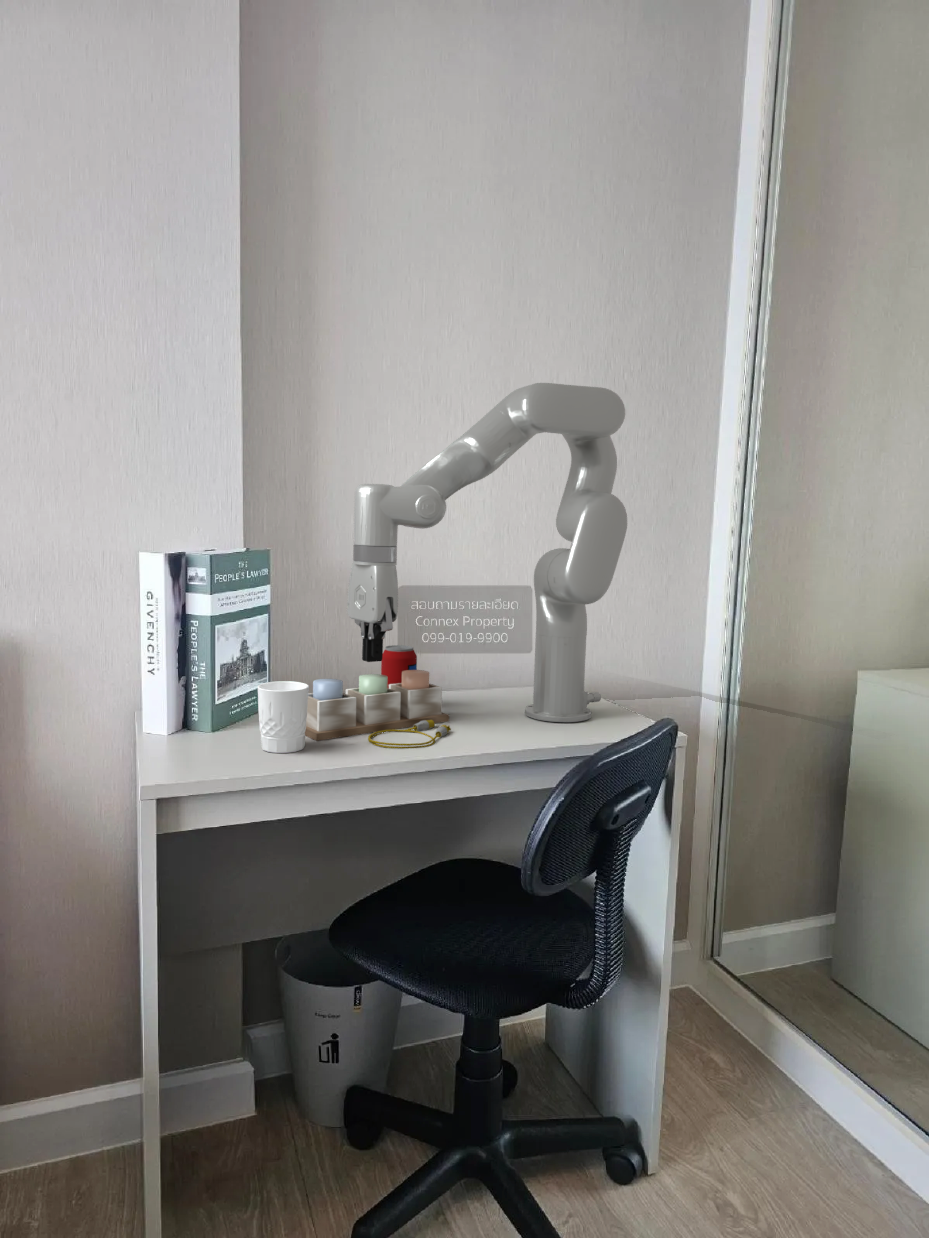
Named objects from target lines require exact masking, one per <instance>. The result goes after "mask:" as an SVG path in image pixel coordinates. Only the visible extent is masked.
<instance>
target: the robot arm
mask: <svg viewBox="0 0 929 1238" xmlns="http://www.w3.org/2000/svg"><path fill="white" fill-rule="evenodd" d="M625 418H626V407H625V403H624V401H623V400H622V398H621V397H620V395H619V394H617V393H616V392H615V391H614V390H611V389H609V388H606V387H599V386H586V385H585V386H584V385H574V384H564V383H562V384H561V383H554V382H553V383H552V382H551V383H550V382H537V383H532V384H529V385H525V386H522V387H518V388H517V389H514V390H513V391H512V392H510V393H509V394H507V396H505V397H504V398H503V399H502V400H501V401H499V402H498V403H497V404H496V405H495V406H493V407H492V409H490V410H489V411H488V412H487V413H486V414H485V415H484V416H483V417H482V418H480V419H479V420H478V421H477V422H476V423H475V424H473V425H472V426H471V427H470V428H469V429H468V430H467V431H465V433H463V434H462V435H460V437H458V438H456V440H454V441H453V442H451V443H450V444H449V445H448V446H447V447H446V448H444V449H443V450H442V451H441V452H439V453H438V454H437V455H436V456H434V457H433V458H431V459H430V460H429V461H428V462H427V463H425V464H424V465H423V466H422V467H421V468H419V469H418V470H417V471H416V472H414V473H413V474H412V476H410V477H409V478H408V479H407V480H406V481H405V482H404V483H402V484H401V485H400V486H394V485H392V484H383V483H381V484H380V483H363V484H358V485H357V487H356V488H355V491H354V507H353V508H354V510H353V517H354V518H353V544H352V545H353V551H352V552H353V553H352V554H353V555H352V556H353V558H352V564H351V567H350V572H349V579H348V589H347V590H348V591H347V603H346V606H347V607H346V615H347V616H348V617H349V618H350V619H351V620H354V623H355V625H357V626H358V627H359V628H360V636H361V638H362V645H361V647H362V649H361V650H362V651H361V654H362V655H361V656H362V657H361V659H362V661H364V662H367V663H374V662H381V661H382V659H383V652H384V650H383V649H384V639H385V638H386V633H387V632H388V631H389V632H390V631H392V630H393V629H394V627H393V626H394V625H393V623H394V622H396V620H397V619H398V614H399V582H398V571H397V565H398V562H397V560H398V559H397V558H398V531H399V528H398V527H399V526H402V527H407V528H412V529H413V528H414V529H421V530H422V529H430V528H433V527H434V526H437V525H438V524H439V523H440V522H441V521H442V520H443V519H444V517H445V515H446V511H447V503H446V502H447V501H446V500H448V499H449V498H450V497H452V495H454V494H455V493H457V492H458V491H460V490H461V489H463V488H465V487H467V486H469V485H471V484H474V483H476V482H479V481H481V480H483V479H486V477H488V476H490V475H491V474H493V473H495V472H496V471H497V469H499V468H500V467H501V466H502V465H503V464H505V462H506V461H508V460H509V459H510V458H511V456H513V455H514V454H515V453H516V452H517V451H519V450H520V449H521V448H522V447H524V445H526V444H527V443H528V442H529V441H530V440H531V439H532V438H533V437H535V436H536V435H538V434H542V433H550V434H558V435H559V434H560V435H562V437H563V438H564V440H565V441H566V443H567V445H568V449H569V451H570V459H571V461H570V462H571V463H570V468H569V472H568V476H567V481H566V484H565V486H564V490H563V493H562V497H561V500H560V503H559V506H558V510H557V513H556V518H555V527H556V530H557V532H558V533H559V536H560V537H562V538H563V539H564V540H566V541H568V542H571V544H570V546H569V547H570V548H567V547H566V548H564V547H562V548H560V547H559V548H554V549H550V550H549V551H547V552H545V553H544V554H543V555H542V556H541V557H540V558H539V560H538V561H537V562H536V566H535V568H534V572H533V587H534V597H535V611H536V612H535V614H536V615H535V616H536V617H535V618H536V620H535V625H536V626H535V643H534V644H535V647H534V669H533V670H534V671H533V673H534V674H533V695H532V703H531V704H528V705H526V706H525V707H524V715H526V717H528V718H531V719H533V720H534V719H535V720H538V721H544V722H550V723H577V722H578V723H579V722H584V721H587V720H589V719H591V717H592V710H591V709H590V708H589V707H588V705H589V704H590V703H598V702H600V701H601V700H602V697H601V693H600V692H599V691H593V692H589V693H588V691H586V690H585V677H586V676H585V675H586V674H585V673H586V655H587V652H586V651H587V635H588V634H587V633H588V616H587V607H586V605H591V604H594V603H596V602H598V601H599V600H601V599H602V598H603V597H605V594H606V593H607V592H608V590H609V588H610V586H611V585H612V584H611V583H612V581H613V578H614V576H615V571H616V568H617V565H618V562H619V559H620V556H621V552H622V548H623V545H624V542H625V538H626V536H627V535H626V534H627V529H628V515H627V511H626V510H627V509H626V507H625V505H624V503H623V502H622V501H621V499H619V497H618V496H616V495H614V494H612V492H613V488H614V484H615V480H616V474H617V468H618V458H617V457H618V456H617V452H616V449H615V444H614V442H613V440H612V438H611V436H613V434H616V433H617V432H618V431H619V429H620V428H621V427H622V425H623V423H624V421H625Z"/></svg>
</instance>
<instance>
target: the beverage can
mask: <svg viewBox="0 0 929 1238" xmlns="http://www.w3.org/2000/svg"><path fill="white" fill-rule="evenodd" d="M380 662H381V667H380V675H385V676H387V677H388V681H387V688H389V684H397V683H402V671H405V670H418V669H417V667H418V663H417V662H418V655H417V653H416V652H415V649H414V646H410V645H402V644H401V645H399V644H397V645H395V644H394V645H393V644H392V645H387V646H385V648H384V650H383V659H382V661H380Z"/></svg>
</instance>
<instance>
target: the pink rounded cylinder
mask: <svg viewBox="0 0 929 1238" xmlns="http://www.w3.org/2000/svg"><path fill="white" fill-rule="evenodd" d="M429 684H430V671H428V670H423V669H422V670H421V669H417V670H405V671H402V687H403V688H406V689H410V690H416V689H424V688H429Z"/></svg>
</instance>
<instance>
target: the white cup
mask: <svg viewBox="0 0 929 1238" xmlns="http://www.w3.org/2000/svg"><path fill="white" fill-rule="evenodd" d="M309 687H310V686H309V684H307V683H305V682H304V683H303V682H300V681H289V680H284V681H279V680H278V681H269V682H264V683H263V682H262V683H260V684H258V685H257V704H258V705H257V706H258V707H257V708H258V709H257V711H258V721H259V732H260V748H261V749H262V751H264V752H268V753H274V754H287V753H295V752H296V753H297V752H299V751H301V750H303V749H304V748H305V746H306V743H305V742H306V736H305V731H306V720H307V709H308V693H309Z"/></svg>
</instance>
